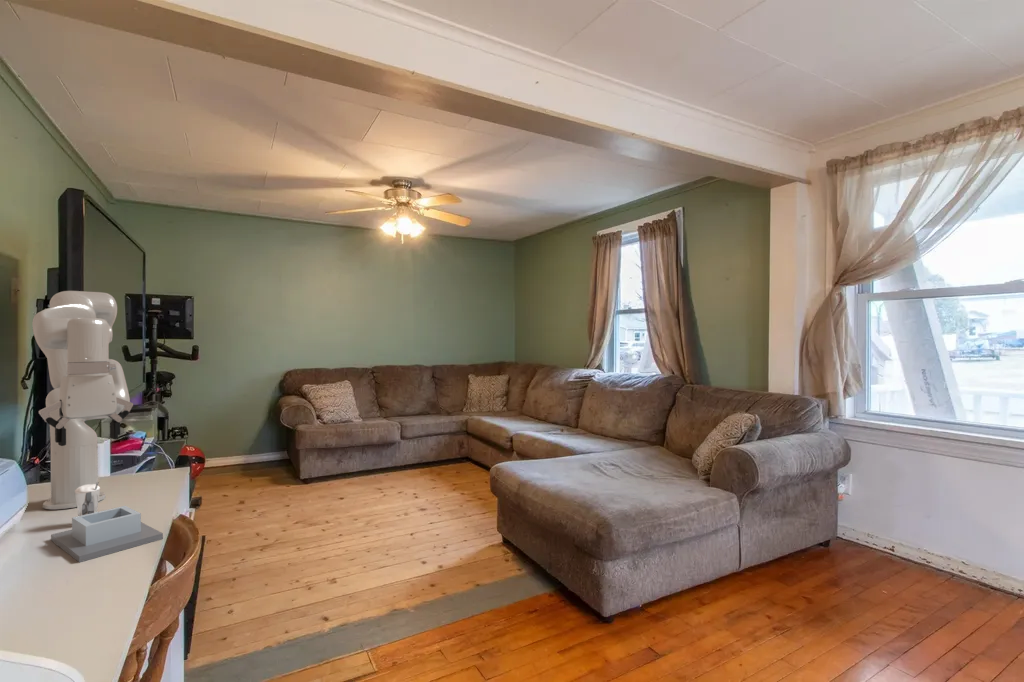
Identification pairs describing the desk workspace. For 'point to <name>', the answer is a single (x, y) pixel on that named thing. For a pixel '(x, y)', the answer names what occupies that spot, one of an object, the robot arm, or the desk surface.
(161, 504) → the desk surface
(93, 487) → the milkshake
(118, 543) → the housing
